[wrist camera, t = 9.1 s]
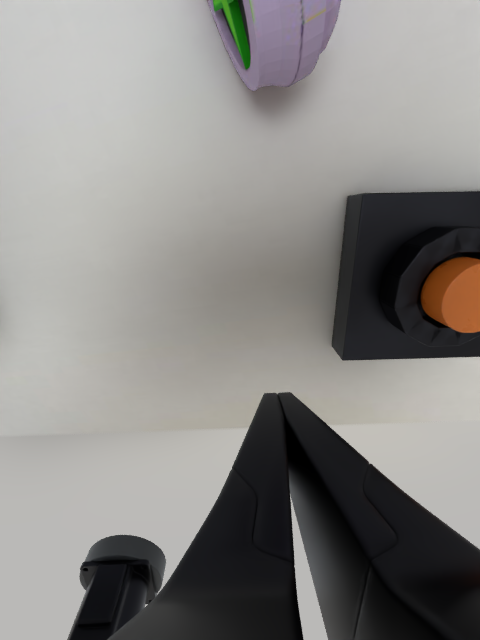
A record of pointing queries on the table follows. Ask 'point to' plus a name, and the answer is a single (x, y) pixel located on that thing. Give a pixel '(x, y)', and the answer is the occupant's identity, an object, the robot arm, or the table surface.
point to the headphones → (274, 37)
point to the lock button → (454, 294)
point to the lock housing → (401, 273)
